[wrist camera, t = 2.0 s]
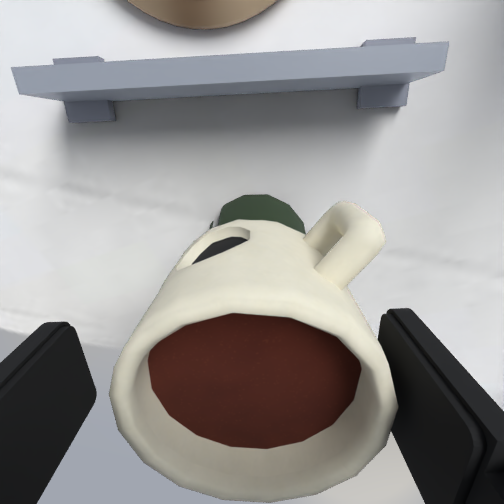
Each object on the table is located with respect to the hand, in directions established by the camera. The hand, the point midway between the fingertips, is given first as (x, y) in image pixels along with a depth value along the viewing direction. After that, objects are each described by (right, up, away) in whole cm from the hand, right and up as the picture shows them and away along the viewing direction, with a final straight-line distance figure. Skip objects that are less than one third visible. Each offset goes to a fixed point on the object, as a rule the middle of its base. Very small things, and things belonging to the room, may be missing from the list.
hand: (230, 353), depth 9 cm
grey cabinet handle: (0, +12, +7) cm, 14 cm away
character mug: (+1, +4, +10) cm, 11 cm away
